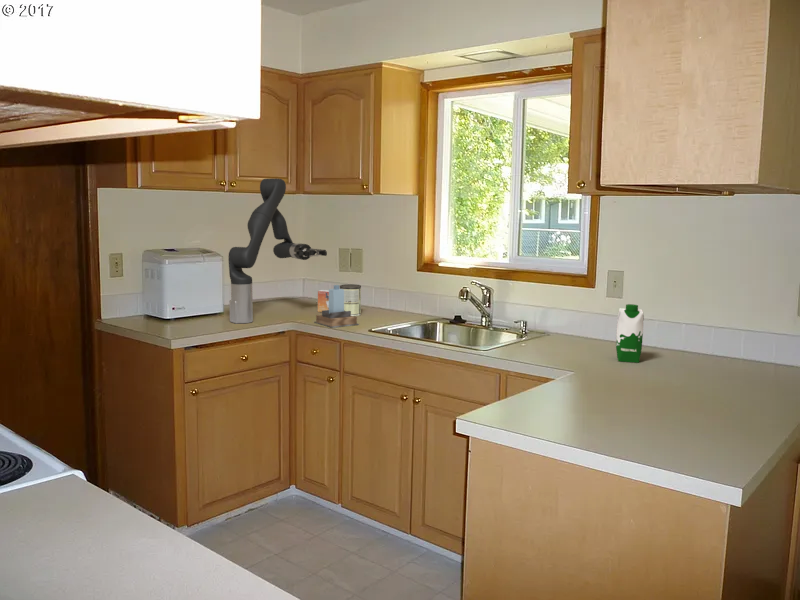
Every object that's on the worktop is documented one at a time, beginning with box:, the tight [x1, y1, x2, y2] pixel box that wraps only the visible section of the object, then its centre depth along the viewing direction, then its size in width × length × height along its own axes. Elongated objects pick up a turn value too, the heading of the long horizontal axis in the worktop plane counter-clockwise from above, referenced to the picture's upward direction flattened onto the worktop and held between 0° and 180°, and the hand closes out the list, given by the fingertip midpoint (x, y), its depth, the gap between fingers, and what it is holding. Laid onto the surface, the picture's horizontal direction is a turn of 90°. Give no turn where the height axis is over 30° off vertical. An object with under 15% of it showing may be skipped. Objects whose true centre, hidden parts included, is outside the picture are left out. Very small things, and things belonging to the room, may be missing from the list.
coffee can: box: [339, 283, 362, 317], centre depth 332 cm, size 10×10×14 cm
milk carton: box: [615, 303, 645, 364], centre depth 244 cm, size 9×9×20 cm
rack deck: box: [313, 310, 360, 329], centre depth 307 cm, size 14×15×6 cm
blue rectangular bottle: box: [328, 284, 344, 314], centre depth 306 cm, size 5×4×14 cm
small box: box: [317, 289, 329, 313], centre depth 339 cm, size 8×6×10 cm
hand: (317, 253), depth 316 cm, fingers open, 8 cm apart
